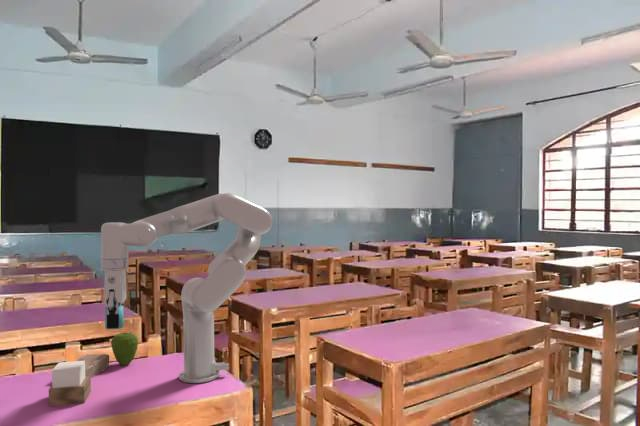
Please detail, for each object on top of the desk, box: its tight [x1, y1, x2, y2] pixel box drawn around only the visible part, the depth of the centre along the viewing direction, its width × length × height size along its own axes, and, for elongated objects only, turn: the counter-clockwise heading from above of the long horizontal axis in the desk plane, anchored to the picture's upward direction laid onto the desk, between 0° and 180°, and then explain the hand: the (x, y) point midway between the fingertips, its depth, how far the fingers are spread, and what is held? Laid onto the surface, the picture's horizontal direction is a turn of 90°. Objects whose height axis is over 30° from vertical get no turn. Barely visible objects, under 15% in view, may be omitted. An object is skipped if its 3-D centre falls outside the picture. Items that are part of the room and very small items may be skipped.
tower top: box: [51, 360, 85, 388], centre depth 144 cm, size 7×7×5 cm
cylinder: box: [104, 305, 125, 330], centre depth 149 cm, size 5×5×6 cm
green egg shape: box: [110, 331, 139, 366], centre depth 174 cm, size 9×8×12 cm
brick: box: [76, 353, 110, 378], centre depth 165 cm, size 17×8×5 cm, turn 173°
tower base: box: [48, 376, 92, 407], centre depth 144 cm, size 9×9×5 cm
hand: (114, 325), depth 149 cm, fingers closed on cylinder, 4 cm apart
